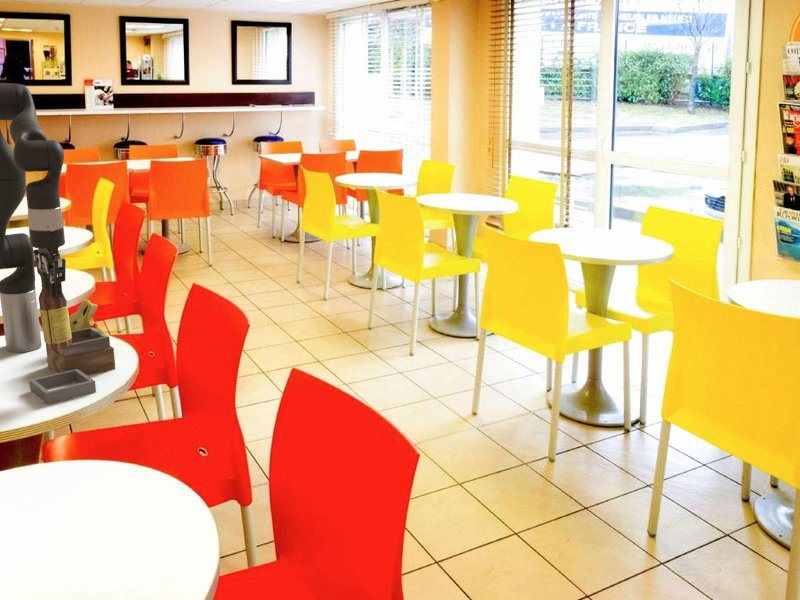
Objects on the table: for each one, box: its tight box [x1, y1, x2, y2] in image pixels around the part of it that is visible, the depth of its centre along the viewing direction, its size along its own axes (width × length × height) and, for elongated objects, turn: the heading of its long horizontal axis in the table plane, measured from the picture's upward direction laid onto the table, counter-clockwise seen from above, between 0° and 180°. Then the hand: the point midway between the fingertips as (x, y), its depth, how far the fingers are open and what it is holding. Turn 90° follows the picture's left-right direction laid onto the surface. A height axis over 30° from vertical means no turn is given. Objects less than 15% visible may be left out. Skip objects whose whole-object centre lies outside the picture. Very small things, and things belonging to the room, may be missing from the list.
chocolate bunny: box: [69, 298, 107, 335], centre depth 220 cm, size 7×11×15 cm, turn 105°
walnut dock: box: [45, 327, 116, 376], centre depth 208 cm, size 13×13×9 cm
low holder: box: [29, 369, 97, 405], centre depth 193 cm, size 11×12×3 cm
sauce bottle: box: [38, 268, 72, 350], centre depth 188 cm, size 6×6×20 cm
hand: (53, 294), depth 187 cm, fingers closed on sauce bottle, 5 cm apart
